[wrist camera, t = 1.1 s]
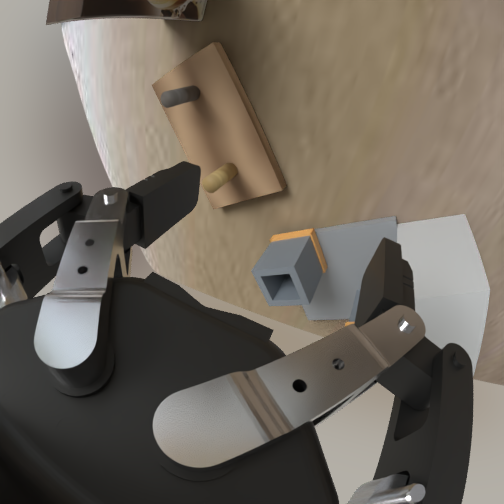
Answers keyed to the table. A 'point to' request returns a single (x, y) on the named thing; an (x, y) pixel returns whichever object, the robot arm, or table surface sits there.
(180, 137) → the pin board
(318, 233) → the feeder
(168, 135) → the table surface
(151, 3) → the coffee box
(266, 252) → the sleeve
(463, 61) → the table surface
